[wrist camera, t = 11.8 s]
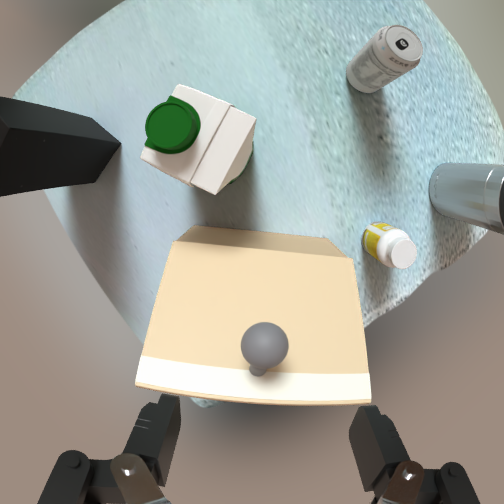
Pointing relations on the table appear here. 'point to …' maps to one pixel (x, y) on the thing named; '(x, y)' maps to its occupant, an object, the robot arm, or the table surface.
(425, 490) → the robot arm
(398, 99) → the table surface
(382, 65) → the energy drink can
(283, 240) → the carton
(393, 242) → the supplement bottle
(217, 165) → the milk carton
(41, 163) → the tall black box
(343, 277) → the flap
